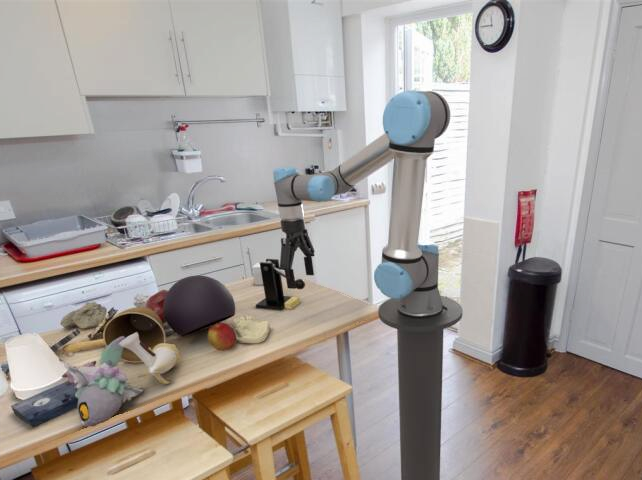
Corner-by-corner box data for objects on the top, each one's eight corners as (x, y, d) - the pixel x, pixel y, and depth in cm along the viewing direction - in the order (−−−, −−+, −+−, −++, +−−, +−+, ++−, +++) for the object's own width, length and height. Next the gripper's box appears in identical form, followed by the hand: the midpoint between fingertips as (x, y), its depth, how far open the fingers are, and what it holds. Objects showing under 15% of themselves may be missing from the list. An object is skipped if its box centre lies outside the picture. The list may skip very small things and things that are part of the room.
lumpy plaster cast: (237, 329, 145) (236, 312, 142) (271, 332, 146) (271, 314, 143) (228, 344, 135) (227, 326, 132) (264, 346, 136) (264, 328, 134)
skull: (183, 300, 161) (181, 314, 163) (141, 286, 160) (140, 301, 162) (172, 308, 154) (171, 322, 157) (128, 294, 153) (128, 309, 156)
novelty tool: (174, 327, 149) (64, 350, 133) (172, 318, 148) (60, 340, 132) (180, 338, 143) (65, 362, 127) (178, 328, 142) (62, 352, 126)
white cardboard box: (259, 279, 186) (256, 262, 183) (274, 279, 186) (271, 262, 182) (254, 285, 181) (251, 267, 177) (269, 284, 180) (266, 267, 177)
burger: (108, 309, 134) (131, 324, 138) (116, 303, 145) (138, 317, 148) (80, 340, 134) (105, 355, 137) (91, 332, 144) (113, 346, 148)
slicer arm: (304, 289, 159) (308, 281, 157) (300, 292, 156) (303, 284, 154) (267, 266, 159) (270, 258, 157) (262, 269, 156) (265, 261, 154)
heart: (145, 292, 152) (161, 283, 147) (167, 302, 158) (183, 294, 152) (133, 322, 147) (149, 315, 141) (156, 333, 152) (172, 325, 147)
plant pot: (110, 297, 133) (97, 314, 119) (166, 293, 137) (160, 310, 124) (120, 344, 138) (109, 366, 124) (174, 339, 143) (169, 359, 129)
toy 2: (86, 436, 99) (61, 377, 92) (75, 404, 110) (52, 350, 103) (156, 410, 107) (137, 354, 100) (139, 383, 118) (121, 331, 111)
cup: (-24, 350, 106) (2, 398, 113) (21, 354, 104) (45, 402, 111) (23, 326, 116) (44, 371, 123) (64, 329, 114) (84, 374, 121)
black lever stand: (295, 299, 166) (289, 257, 159) (281, 310, 157) (274, 266, 150) (270, 297, 168) (263, 256, 161) (256, 307, 160) (248, 264, 153)
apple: (240, 331, 138) (232, 316, 132) (237, 354, 134) (229, 340, 127) (215, 332, 138) (206, 317, 131) (211, 355, 134) (201, 341, 127)
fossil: (66, 297, 144) (53, 324, 145) (97, 313, 144) (83, 340, 145) (95, 296, 158) (83, 320, 159) (123, 311, 159) (110, 335, 160)
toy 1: (29, 366, 128) (43, 359, 123) (24, 362, 127) (38, 355, 122) (71, 337, 138) (86, 329, 133) (67, 333, 138) (82, 325, 132)
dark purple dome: (174, 340, 143) (151, 295, 141) (235, 316, 152) (215, 273, 150) (175, 336, 125) (149, 283, 123) (244, 309, 134) (221, 259, 132)
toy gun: (136, 324, 125) (168, 369, 131) (104, 351, 106) (143, 402, 111) (169, 308, 126) (199, 353, 131) (143, 332, 106) (180, 384, 112)
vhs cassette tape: (13, 414, 107) (32, 428, 102) (8, 404, 105) (27, 417, 100) (95, 380, 120) (115, 390, 115) (92, 370, 119) (112, 380, 114)
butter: (299, 302, 163) (299, 297, 163) (291, 309, 158) (291, 303, 157) (293, 301, 164) (292, 296, 163) (284, 308, 159) (284, 303, 158)
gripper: (299, 210, 158) (307, 269, 167) (261, 227, 136) (272, 293, 146) (319, 210, 156) (326, 270, 165) (283, 227, 134) (293, 295, 144)
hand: (301, 281), depth 156 cm, fingers open, 13 cm apart
